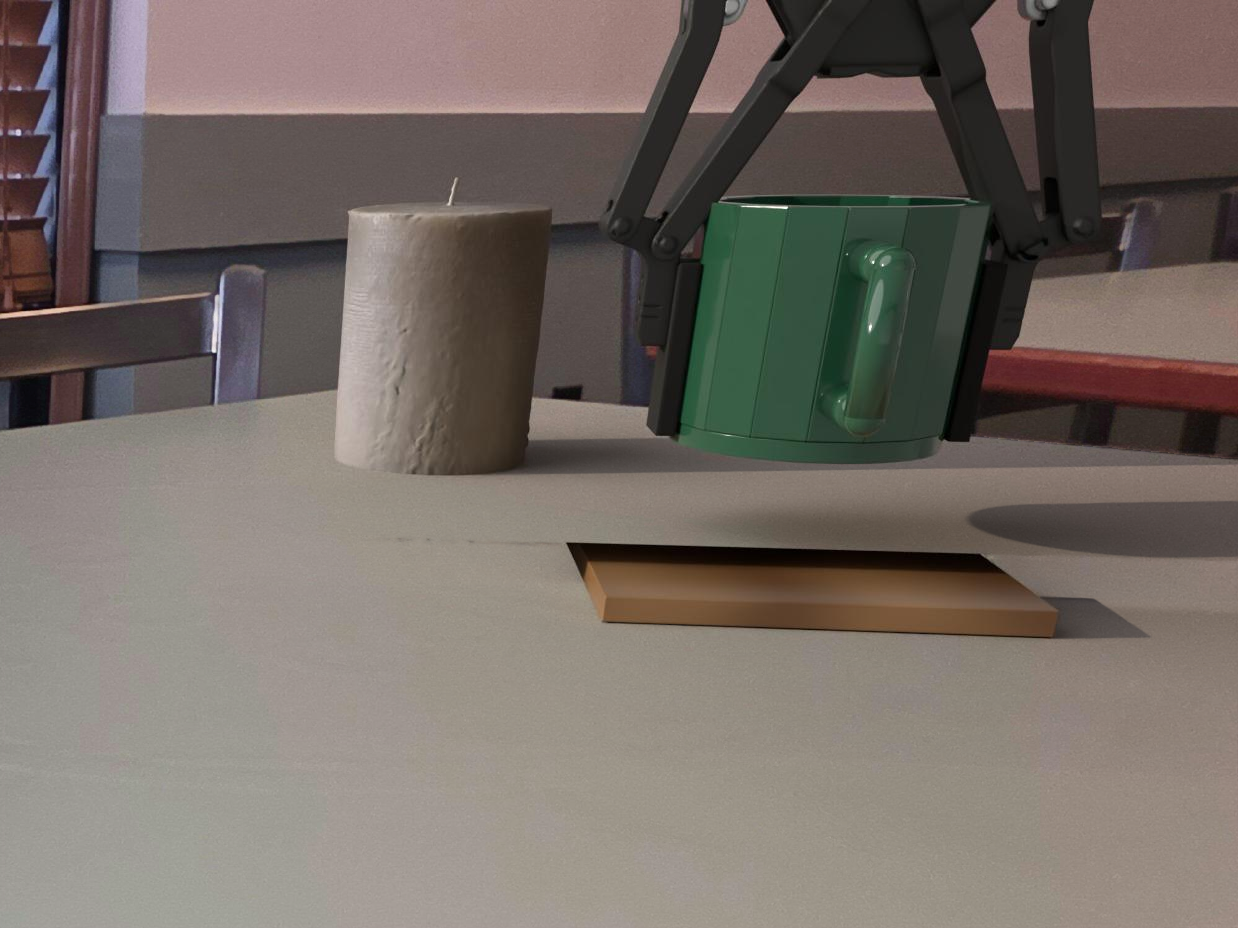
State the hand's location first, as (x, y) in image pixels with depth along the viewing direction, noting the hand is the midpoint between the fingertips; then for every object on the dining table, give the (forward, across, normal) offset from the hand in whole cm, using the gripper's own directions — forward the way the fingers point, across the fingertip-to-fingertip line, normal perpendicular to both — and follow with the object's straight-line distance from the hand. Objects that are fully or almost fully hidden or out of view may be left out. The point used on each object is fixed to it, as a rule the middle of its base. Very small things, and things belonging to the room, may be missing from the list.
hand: (802, 433), depth 70 cm
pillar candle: (+6, -14, +16) cm, 22 cm away
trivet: (+6, 0, 0) cm, 6 cm away
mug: (0, 0, -2) cm, 2 cm away
